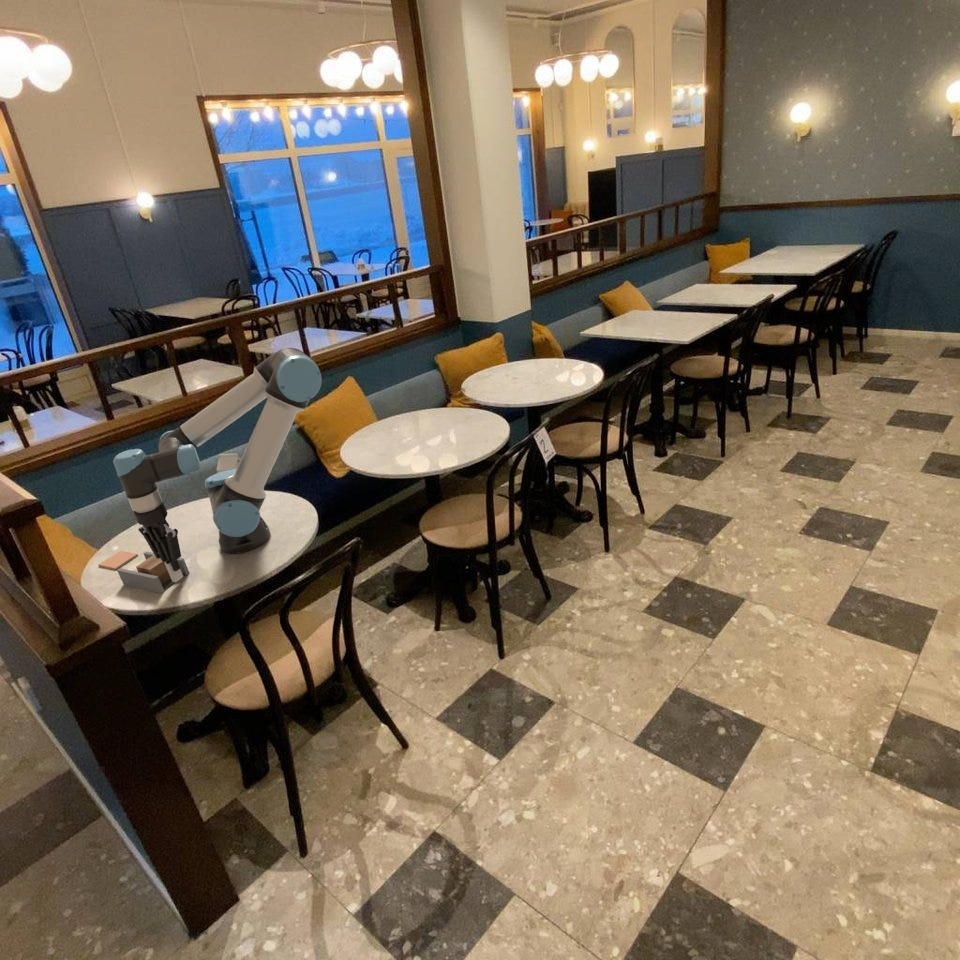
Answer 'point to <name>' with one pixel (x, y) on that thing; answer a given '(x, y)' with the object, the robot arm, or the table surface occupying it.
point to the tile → (118, 560)
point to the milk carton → (227, 462)
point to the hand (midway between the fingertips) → (177, 579)
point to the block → (154, 568)
